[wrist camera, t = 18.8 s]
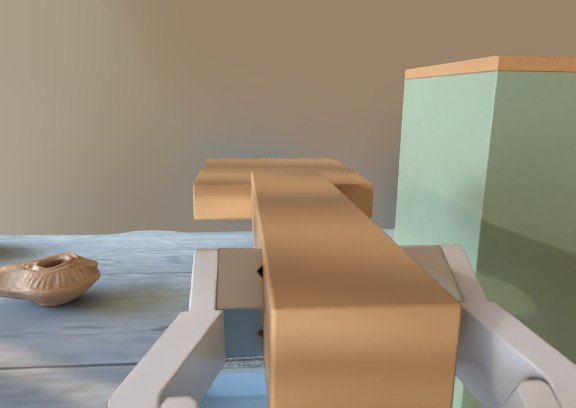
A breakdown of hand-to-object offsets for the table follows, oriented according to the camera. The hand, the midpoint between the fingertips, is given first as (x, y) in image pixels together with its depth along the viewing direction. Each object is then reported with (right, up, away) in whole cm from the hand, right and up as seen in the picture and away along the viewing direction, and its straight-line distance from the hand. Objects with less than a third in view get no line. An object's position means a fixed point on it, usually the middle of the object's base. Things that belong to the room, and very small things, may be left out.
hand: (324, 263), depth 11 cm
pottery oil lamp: (-29, -10, +45) cm, 55 cm away
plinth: (+16, -14, +28) cm, 36 cm away
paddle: (-1, 0, +8) cm, 8 cm away
